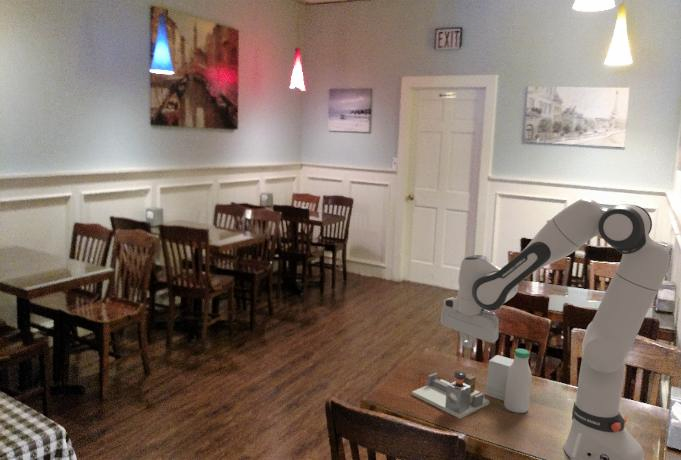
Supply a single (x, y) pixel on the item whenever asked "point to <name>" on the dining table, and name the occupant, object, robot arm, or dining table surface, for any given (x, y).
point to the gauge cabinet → (458, 397)
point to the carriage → (471, 382)
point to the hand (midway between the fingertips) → (467, 346)
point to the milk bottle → (518, 383)
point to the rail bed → (437, 396)
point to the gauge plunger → (459, 379)
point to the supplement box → (497, 376)
